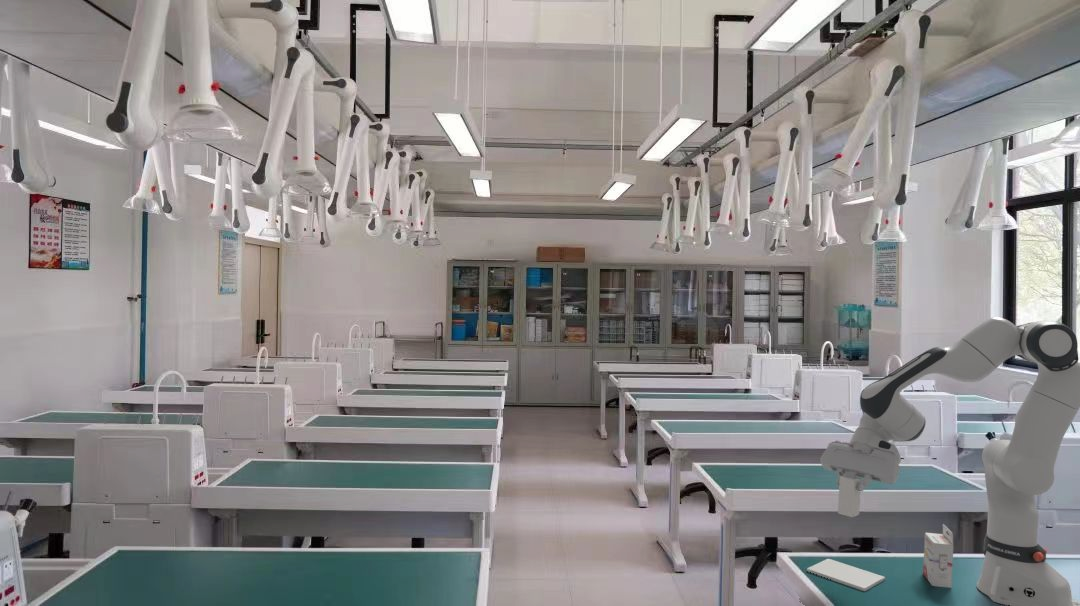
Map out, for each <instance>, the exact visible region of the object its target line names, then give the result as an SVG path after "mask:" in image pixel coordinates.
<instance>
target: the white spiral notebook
mask: <svg viewBox="0 0 1080 606" xmlns="http://www.w3.org/2000/svg"><path fill="white" fill-rule="evenodd" d="M807 571H808V573H810V572H811V573H810V574H813V573H814V574H813V575H816V574H817V575H816V576H819V577H821V576H822V578H824V577H825V579H827V578H828V579H827V580H830V579H831V580H830V581H833V582H836V583H838V584H842V585H845V586H847V587H850V588H854V589H856V590H859V591H862V592H866V591H868V590H870V589H871V588H874V587H875V586H877V585H878V584H880V583H882V582H884V581H885V580H886V577H885V576H884V575H879V574H876V573H874V572H871V571H869V570H864V569H861V568H859V567H856V566H852V565H850V564H846V563H843V562H841V561H837V560H834V559H831V558H826V559H824V560H822V561H820V562H818V563H815V564H814V565H811V566H808V567H807V568H806V572H807Z"/></svg>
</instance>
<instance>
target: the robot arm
mask: <svg viewBox="0 0 1080 606" xmlns="http://www.w3.org/2000/svg"><path fill="white" fill-rule="evenodd" d="M1076 335H1077V334H1075V332H1074V331H1073V330H1072V328H1070V327H1069V326H1068V325H1065V324H1064V323H1061V322H1058V321H1051V320H1037V321H1033V322H1027V323H1024V324H1020V325H1015V324H1014V323H1013V322H1011V321H1010V320H1008V319H1006V318H1003V317H1000V316H999V317H998V316H995V317H991V318H988V319H987V320H984V321H983V322H982V323H980V324H978V325H977V326H975V327H974V328H973V329H971V330H969V332H967V333H966V334H965V335H964V336H962V337H961V338H960V339H959V340H958V341H956V342H954V343H952V344H951V345H948V346H945V347H940V346H935V347H932V348H929V349H928V350H925V351H924V352H922V353H920V354H919V355H918V356H915V357H914V358H913V359H911V360H910V361H908V362H905V364H903V365H901V366H900V367H899V368H897V369H895V370H893V371H892V372H891V373H889V374H887V375H885V377H883V378H880V379H878V380H877V381H873V382H871V383H870V384H868V385H866V386H865V388H863V390H861V392H860V397H859V407H860V410H862V412H863V413H862V416H861V418H860V420H859V426H858V427H857V428H856V429H855V431H854V432H853V434H852V437H851V439H850V442H847V441H846V442H845V441H840V440H835V441H831V442H829V443H828V445H827V447H826V449H825V450H824V451H823V453H822V455H821V457H820V460H819V461H820V462H819V463H821V466H822V467H823V468H822V469H824V470H826V471H831V472H836V476H837V479H836V481H835V484H836V486H838V487H839V482H840V477H841V476H844V475H845V472H846V471H849V472H854V473H856V477H859V478H861V479H863V480H861V482H857V485H856V490H858V491H860V492H863V491H864V490H865V488H866V487H868V486H869V485H870V484H872V482H873V481H874V482H879V483H884V484H887V485H893V484H895V483H896V482H897V480H898V478H899V474H900V471H901V470H900V469H901V467H900V463H901V462H902V459H901V458H902V457H901V455H900V452H899V450H898V448H897V446H896V445H895V444H894V443H891V442H889V441H893V442H900V443H901V442H912V441H915V440H917V439H918V438H920V436H922V434H923V432H924V430H925V427H926V417H925V415H924V414H923V413H922V412H921V411H919V410H918V409H917V408H916V407H915V406H914V405H913V404H911V403H910V402H909V401H908V400H907V399H906V398H905V397H904V396H903V395H902V394H901V392H902V390H903V391H904V389H906V388H908V387H909V386H911V385H912V384H914V383H915V382H917V381H919V380H920V379H922V378H923V377H924V376H925V377H926V376H927V375H933V374H936V375H940V376H944V377H947V378H950V379H952V380H955V381H958V382H963V383H976V382H980V381H982V380H983V379H985V378H987V377H988V376H989V375H991V374H992V373H993V372H994V371H995V370H996V369H998V368H999V366H1001V365H1002V364H1003V363H1004V362H1006V361H1007V360H1008V359H1010V358H1012V357H1014V356H1017V357H1018V358H1020V359H1023V360H1025V361H1027V362H1032V363H1035V364H1037V369H1038V374H1037V377H1036V379H1035V381H1034V383H1033V384H1032V386H1031V388H1030V390H1029V391H1028V393H1027V395H1026V396H1025V398H1024V400H1023V402H1022V403H1021V405H1020V407H1019V409H1018V411H1017V412H1016V414H1015V417H1014V426H1013V427H1014V428H1013V432H1012V434H1011V439H994V440H992V441H990V442H988V443H987V444H986V445H985V446H984V448H983V450H982V453H981V458H982V459H981V460H982V463H983V466H984V477H985V478H984V479H985V488H986V495H987V526H986V533H985V535H984V540H983V556H984V560H983V564H982V568H981V572H980V576H979V578H978V581H977V583H976V588H977V589H978V590H979V591H980V592H981V593H982V594H984V595H986V596H988V597H989V599H990V600H991V601H993V602H994V603H996V604H997V603H998V604H1001V605H1005V606H1008V605H1010V606H1080V601H1079V600H1076V599H1074V598H1073V596H1072V588H1071V585H1070V583H1069V580H1067V578H1065V577H1064V576H1063V575H1062V574H1060V572H1058V571H1057V570H1056V569H1055V568H1054V567H1053V566H1052V565H1050V564H1049V563H1048V562H1047V560H1046V559H1047V553H1048V548H1047V547H1045V548H1043V547H1042V546H1041V545H1040V544H1039V543H1038V538H1039V536H1038V534H1039V519H1040V516H1039V515H1040V513H1039V510H1038V507H1037V503H1036V500H1035V496H1038V495H1041V494H1045V493H1046V492H1048V491H1049V490H1050V489H1051V488H1052V486H1053V484H1054V482H1055V472H1054V469H1055V465H1056V462H1057V458H1058V453H1059V452H1060V451H1059V450H1060V448H1061V444H1062V441H1063V439H1064V437H1065V435H1066V433H1067V432H1068V429H1069V427H1070V426H1071V425H1072V422H1073V420H1074V418H1075V417H1076V415H1077V414H1078V411H1080V362H1079V351H1078V347H1079V345H1078V338H1077V336H1076Z"/></svg>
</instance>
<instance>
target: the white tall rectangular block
mask: <svg viewBox="0 0 1080 606" xmlns="http://www.w3.org/2000/svg"><path fill="white" fill-rule="evenodd" d="M857 482H862V478H861V477H856V473H854V472H849V471H846V472H845V474H844V476H841V477H840V482H839V486H838V488H839V489H838V504H837V505H838V506H837V507H838V509H837V514H839V515H843V516H846V517H849V518H855V517H856V516H859V515H860V509H861V508H860V507H861V491H858V490H856V485H857Z"/></svg>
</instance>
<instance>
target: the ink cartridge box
mask: <svg viewBox="0 0 1080 606" xmlns="http://www.w3.org/2000/svg"><path fill="white" fill-rule="evenodd" d="M923 545H924V547H923V548H924V550H923V567H922V574H923V576H925V578H926V579H927V581H928V583H930V585H931V587H939V588H947V589H948V588H949V589H951V588H952V586H953V585H952V583H953V566H954V565H953V564H954V563H953V562H954V533H953V532H952V531H951V530H950V529H949V528H948V527H947V526H946V525H945V524H944V523H942V533H935V532H934V533H932V532H924V544H923Z"/></svg>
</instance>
